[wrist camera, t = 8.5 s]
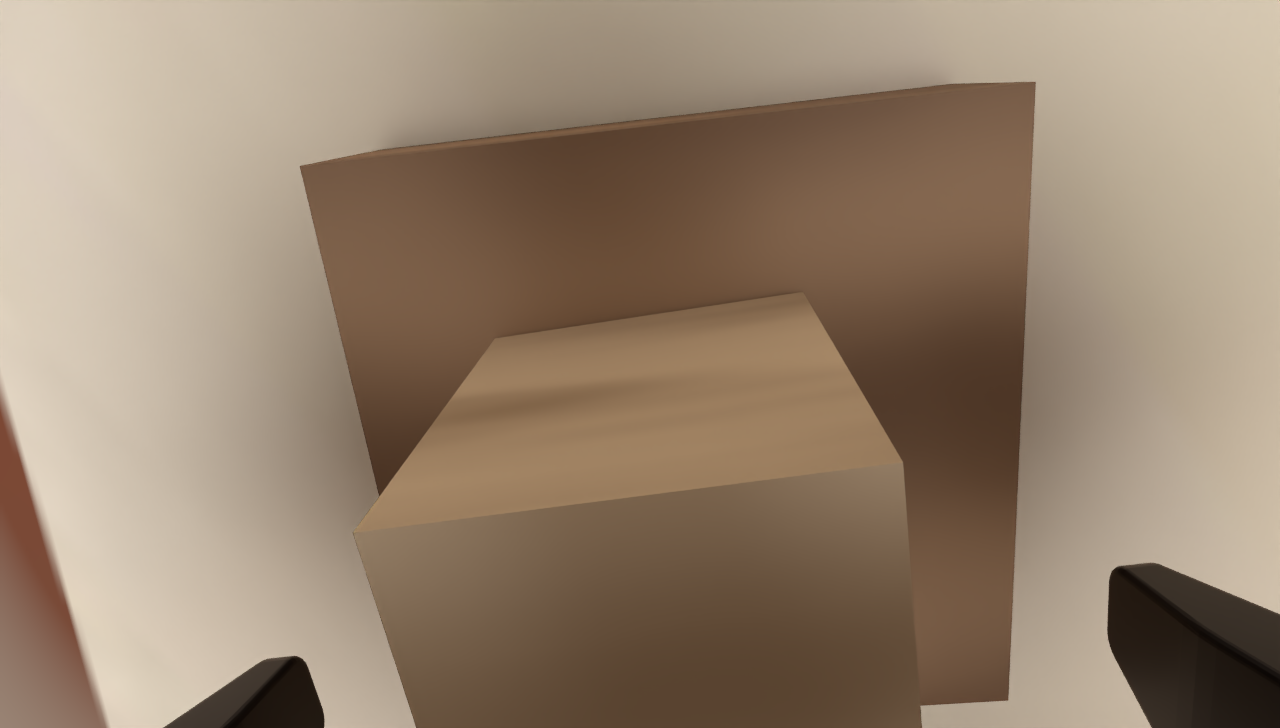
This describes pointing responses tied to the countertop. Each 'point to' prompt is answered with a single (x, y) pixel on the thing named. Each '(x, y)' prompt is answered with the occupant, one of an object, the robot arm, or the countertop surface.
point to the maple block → (652, 534)
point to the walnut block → (733, 289)
